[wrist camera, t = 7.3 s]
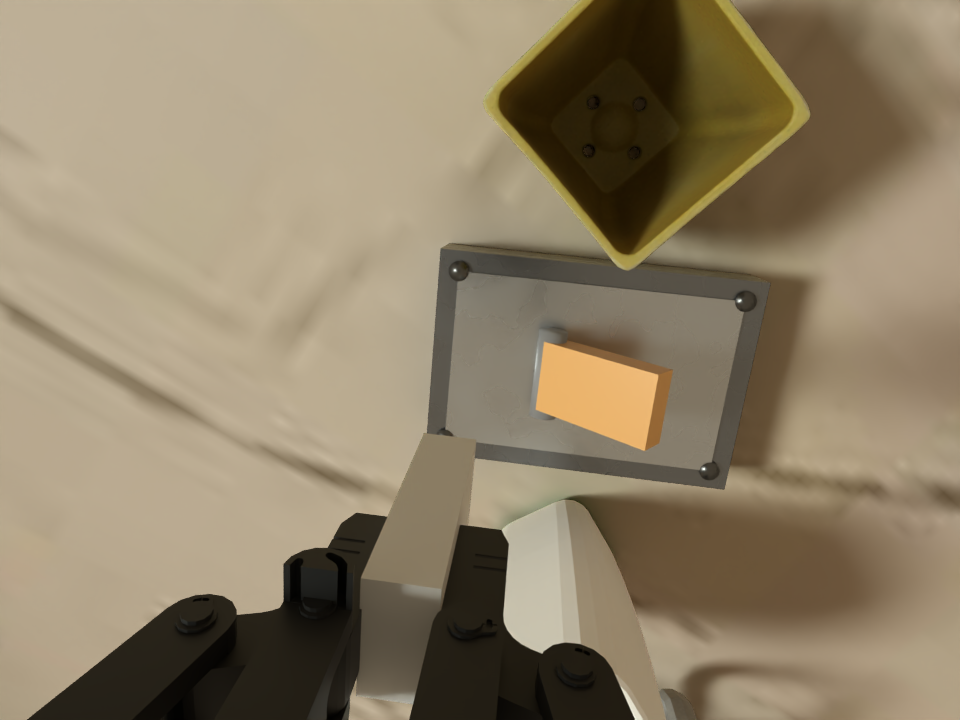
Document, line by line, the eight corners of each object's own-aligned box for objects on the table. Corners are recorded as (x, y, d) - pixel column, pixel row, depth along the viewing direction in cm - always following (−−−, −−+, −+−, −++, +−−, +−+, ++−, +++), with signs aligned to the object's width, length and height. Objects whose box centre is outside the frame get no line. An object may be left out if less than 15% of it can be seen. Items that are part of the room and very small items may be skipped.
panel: (449, 243, 33) (440, 248, 30) (750, 274, 32) (772, 283, 29) (434, 431, 36) (424, 453, 33) (709, 465, 35) (725, 491, 32)
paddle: (533, 329, 30) (660, 364, 26) (550, 326, 31) (674, 360, 27) (523, 413, 31) (642, 460, 27) (539, 408, 32) (657, 452, 28)
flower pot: (741, 135, 31) (820, 115, 22) (603, 253, 33) (626, 276, 24) (629, -8, 29) (666, -90, 21) (493, 124, 32) (475, 100, 23)
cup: (532, 613, 39) (527, 856, 25) (475, 521, 38) (435, 723, 24) (637, 568, 38) (696, 800, 23) (581, 471, 36) (608, 654, 22)
